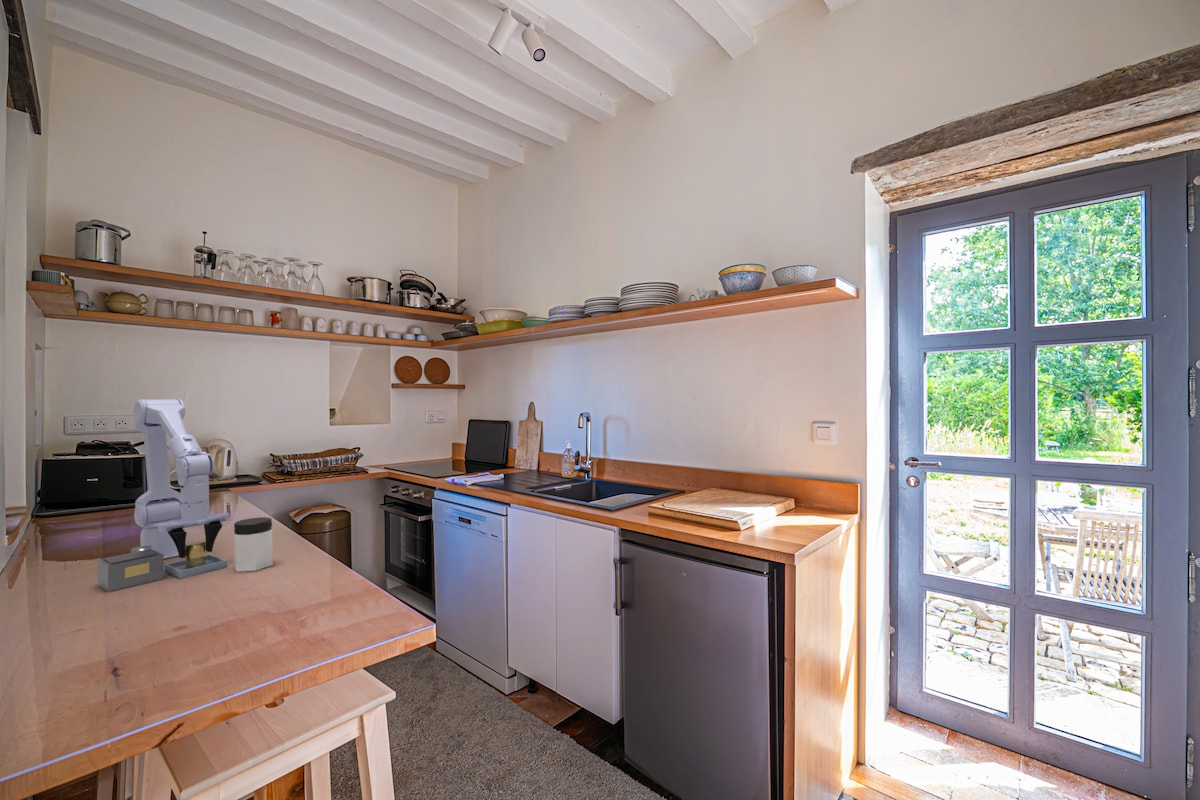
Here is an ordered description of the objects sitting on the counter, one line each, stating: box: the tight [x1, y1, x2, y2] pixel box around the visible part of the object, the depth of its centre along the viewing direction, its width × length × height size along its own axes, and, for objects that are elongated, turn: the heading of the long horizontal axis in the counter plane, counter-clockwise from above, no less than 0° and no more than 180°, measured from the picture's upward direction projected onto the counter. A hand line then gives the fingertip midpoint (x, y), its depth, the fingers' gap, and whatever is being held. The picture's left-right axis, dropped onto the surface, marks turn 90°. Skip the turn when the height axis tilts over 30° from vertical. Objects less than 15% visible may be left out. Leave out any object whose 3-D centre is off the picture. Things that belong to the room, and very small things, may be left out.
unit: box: [97, 549, 165, 593], centre depth 122 cm, size 9×10×6 cm
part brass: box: [185, 541, 206, 569], centre depth 131 cm, size 4×4×6 cm
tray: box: [164, 553, 228, 580], centre depth 131 cm, size 10×10×2 cm
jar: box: [233, 516, 274, 573], centre depth 133 cm, size 9×8×12 cm
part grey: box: [130, 546, 152, 553], centre depth 130 cm, size 4×4×6 cm
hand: (195, 554), depth 131 cm, fingers open, 5 cm apart
